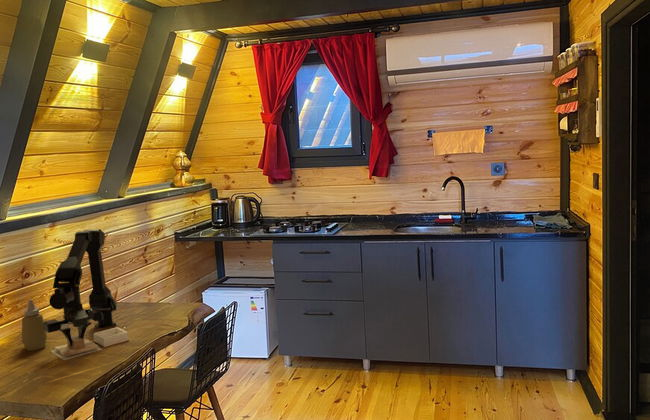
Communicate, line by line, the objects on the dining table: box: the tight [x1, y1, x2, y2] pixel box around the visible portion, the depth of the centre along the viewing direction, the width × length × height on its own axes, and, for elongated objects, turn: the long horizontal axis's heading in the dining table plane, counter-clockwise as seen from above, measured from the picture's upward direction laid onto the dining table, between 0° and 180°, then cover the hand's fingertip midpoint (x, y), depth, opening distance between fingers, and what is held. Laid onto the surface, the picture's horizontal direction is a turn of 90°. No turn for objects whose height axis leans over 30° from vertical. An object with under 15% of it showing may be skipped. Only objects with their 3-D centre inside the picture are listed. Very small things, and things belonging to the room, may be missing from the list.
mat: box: [51, 346, 103, 361], centre depth 203 cm, size 13×13×1 cm
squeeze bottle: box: [21, 299, 48, 351], centre depth 206 cm, size 8×8×18 cm
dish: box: [93, 326, 129, 348], centre depth 211 cm, size 9×9×4 cm
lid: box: [54, 334, 99, 357], centre depth 202 cm, size 11×11×4 cm
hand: (76, 344), depth 202 cm, fingers closed on lid, 3 cm apart
